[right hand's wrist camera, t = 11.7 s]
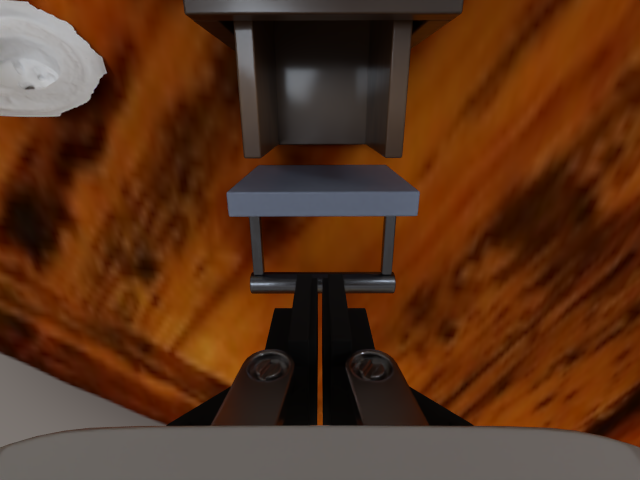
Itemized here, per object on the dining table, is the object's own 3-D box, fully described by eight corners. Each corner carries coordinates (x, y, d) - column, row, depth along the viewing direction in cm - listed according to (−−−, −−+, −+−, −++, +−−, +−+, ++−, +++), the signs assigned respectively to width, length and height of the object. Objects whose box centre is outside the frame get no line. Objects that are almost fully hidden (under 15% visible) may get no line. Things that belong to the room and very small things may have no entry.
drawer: (380, 258, 26) (406, 323, 18) (264, 259, 26) (239, 324, 18) (398, -32, 20) (452, -131, 12) (245, -31, 20) (193, -130, 12)
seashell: (69, 75, 26) (-96, 33, 20) (89, 17, 23) (-98, -55, 17) (96, 162, 24) (-77, 146, 18) (121, 111, 21) (-76, 70, 15)
